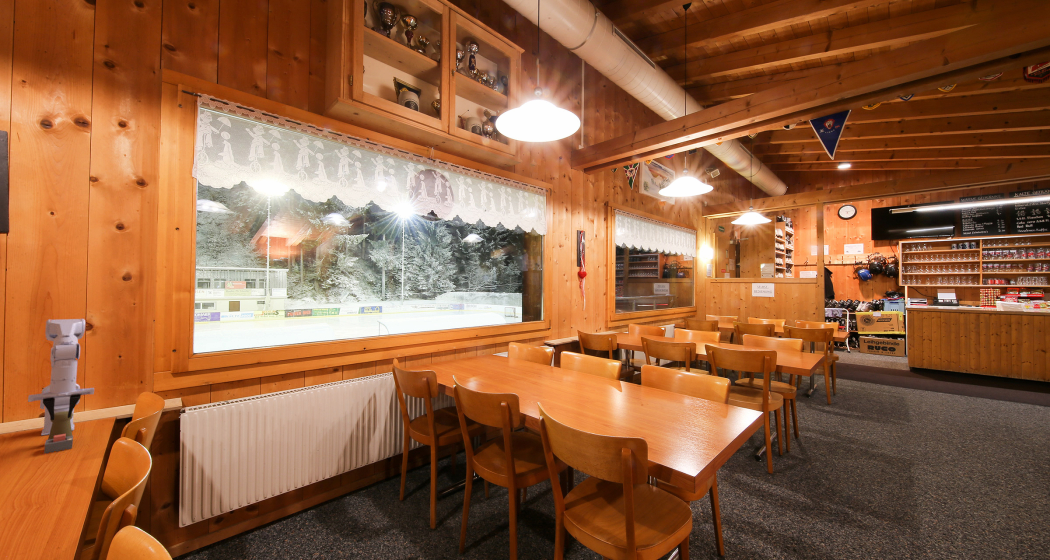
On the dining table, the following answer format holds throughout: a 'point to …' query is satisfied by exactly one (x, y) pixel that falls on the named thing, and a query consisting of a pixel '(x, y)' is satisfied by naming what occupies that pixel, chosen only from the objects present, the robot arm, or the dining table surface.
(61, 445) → the block
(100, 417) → the dining table surface
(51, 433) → the cork
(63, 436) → the button
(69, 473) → the dining table surface
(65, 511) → the dining table surface
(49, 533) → the dining table surface
